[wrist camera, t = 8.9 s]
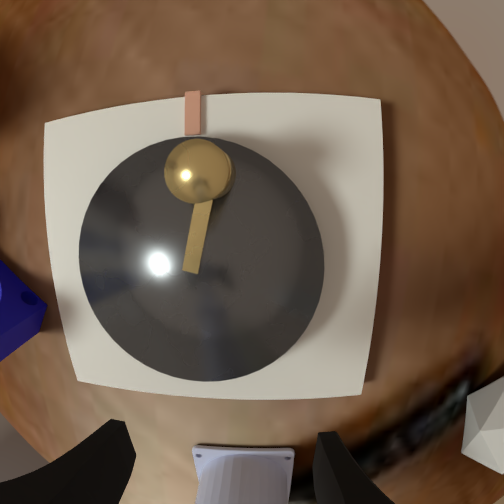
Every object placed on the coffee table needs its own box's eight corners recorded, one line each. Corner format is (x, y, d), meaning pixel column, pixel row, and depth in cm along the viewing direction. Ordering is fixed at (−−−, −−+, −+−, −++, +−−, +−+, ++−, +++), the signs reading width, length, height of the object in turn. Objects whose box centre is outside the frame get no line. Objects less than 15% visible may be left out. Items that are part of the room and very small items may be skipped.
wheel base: (356, 384, 19) (362, 399, 18) (84, 372, 20) (74, 384, 19) (373, 101, 16) (383, 93, 14) (55, 122, 16) (40, 119, 15)
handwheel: (283, 393, 17) (287, 438, 14) (82, 338, 17) (49, 369, 13) (349, 172, 15) (377, 169, 11) (105, 123, 15) (64, 111, 11)
